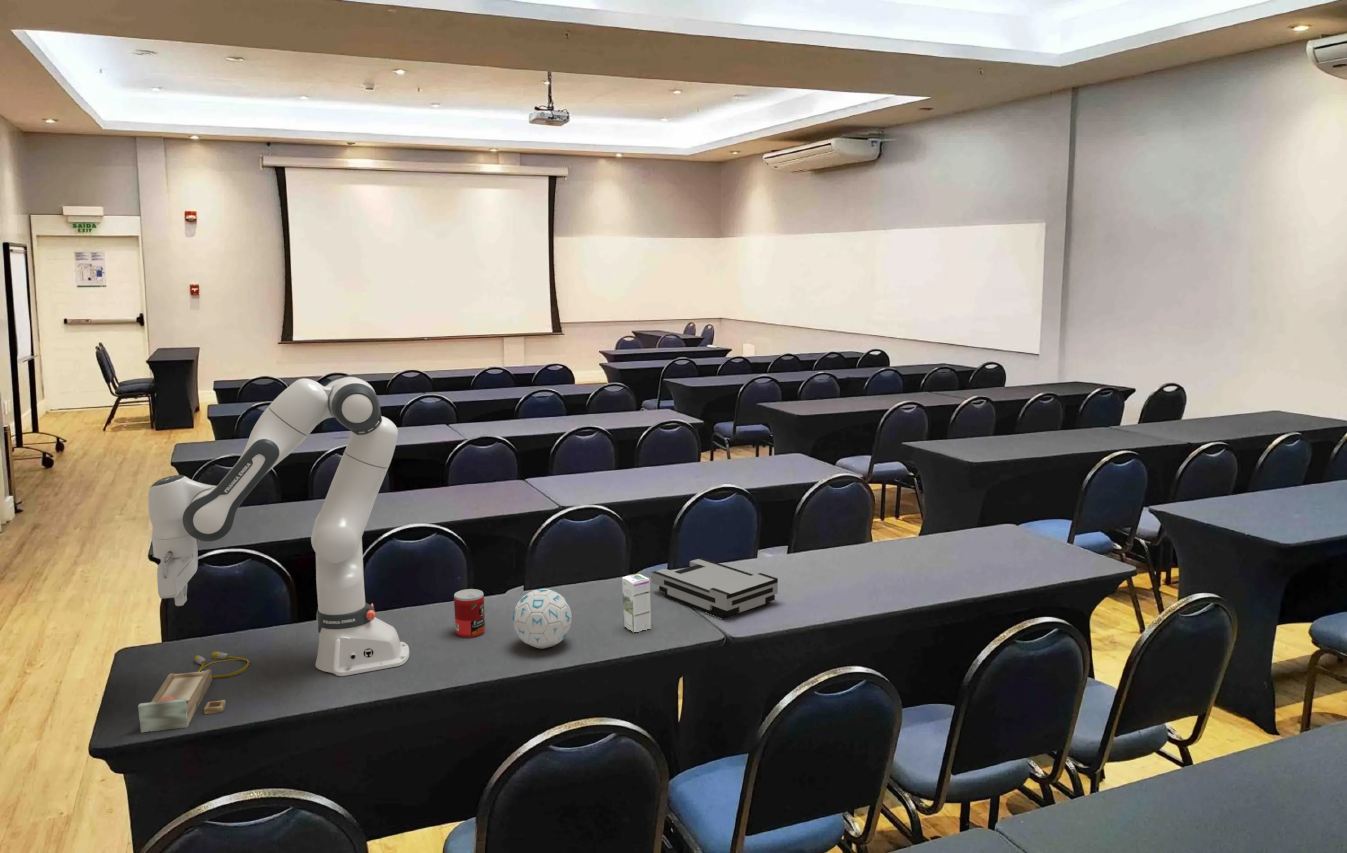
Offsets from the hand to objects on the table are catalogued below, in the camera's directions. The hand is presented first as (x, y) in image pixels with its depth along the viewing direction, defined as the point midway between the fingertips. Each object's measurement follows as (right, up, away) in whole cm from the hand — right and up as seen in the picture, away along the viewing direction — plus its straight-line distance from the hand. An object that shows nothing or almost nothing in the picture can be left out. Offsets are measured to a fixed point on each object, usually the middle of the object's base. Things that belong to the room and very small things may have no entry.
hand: (181, 603), depth 217 cm
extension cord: (+2, -19, +15) cm, 25 cm away
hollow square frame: (+12, -22, -8) cm, 26 cm away
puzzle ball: (+80, -16, +26) cm, 86 cm away
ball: (+3, -20, -12) cm, 24 cm away
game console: (+126, -10, +60) cm, 140 cm away
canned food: (+59, -15, +35) cm, 71 cm away
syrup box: (+104, -14, +37) cm, 112 cm away
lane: (+2, -22, -5) cm, 22 cm away
